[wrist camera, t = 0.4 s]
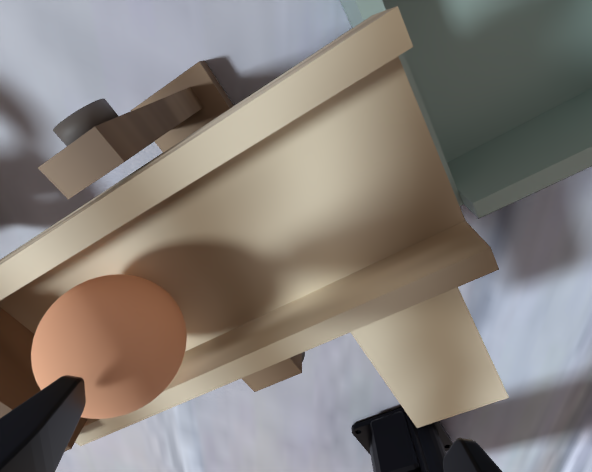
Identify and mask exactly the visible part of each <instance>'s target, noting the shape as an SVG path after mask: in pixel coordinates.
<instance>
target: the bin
mask: <svg viewBox="0 0 592 472" xmlns="http://www.w3.org/2000/svg"><path fill="white" fill-rule="evenodd" d="M340 2H341V4H342V6H343V9H344V11H345V13H346V15H347V17H348V20H349V22H350V24H351V26H352V28H354V27H355V26H357V25H358V24H360V23H361V22H363V21H364V20H366V19H367V18H369V17H370V16H372V15H374V14H377V13H380V12H382V11H385V10H388V9H391V8H393V7H396V6H398V8H399V11H400V13H401V16H402V18H403V21H404V24H405V26H406V29H407V31H408V34H409V37H410V39H411V42H412V44H413V47H412V48H411V49H409V50H407V51H406V52H404V53H403V54H401V55H399V59H400V61H401V64H402V66H403V69H404V71H405V74H406V76H407V78H408V81H409V83H410V86H411V88H412V91H413V93H414V96H415V98H416V101H417V103H418V105H419V108H420V110H421V113H422V115H423V118H424V120H425V123H426V125H427V128H428V130H429V133H430V135H431V137H432V140H433V142H434V145H435V147H436V150H437V152H438V155H439V157H440V160H441V162H442V164H443V167H444V169H445V172H446V174H447V177H448V179H449V182H450V184H451V187H452V189H453V192H454V194H455V196H456V199H457V201H458V204H459V206H461V205H463V204H464V205H465V206H466V207H467V208H468V209H469V210H470V211H471V212H472V213H473V214H474V215H475V216H476V217H477V218H478V219H479V218H481V217H483V216H485V215H488V214H490V213H492V212H494V211H496V210H498V209H500V208H503V207H505V206H507V205H509V204H511V203H513V202H516V201H518V200H520V199H522V198H524V197H526V196H528V195H531V194H533V193H535V192H537V191H539V190H541V189H544V188H546V187H548V186H550V185H552V184H554V183H556V182H559V181H561V180H563V179H565V178H567V177H569V176H572V175H574V174H576V173H578V172H580V171H582V170H584V169H587V168H589V167H591V166H592V0H340Z"/></svg>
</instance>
